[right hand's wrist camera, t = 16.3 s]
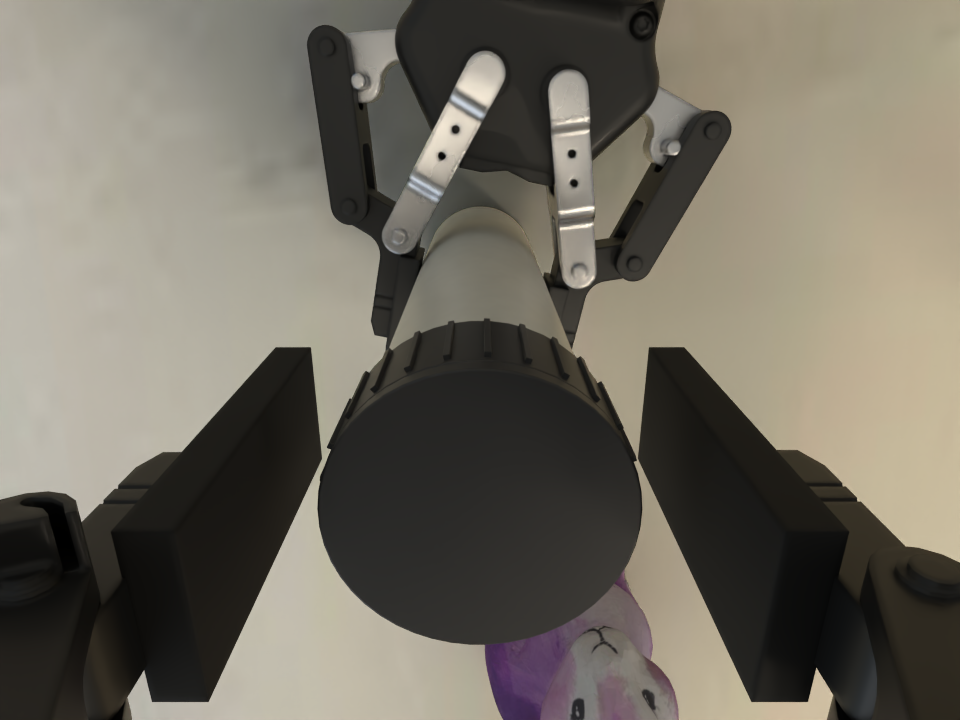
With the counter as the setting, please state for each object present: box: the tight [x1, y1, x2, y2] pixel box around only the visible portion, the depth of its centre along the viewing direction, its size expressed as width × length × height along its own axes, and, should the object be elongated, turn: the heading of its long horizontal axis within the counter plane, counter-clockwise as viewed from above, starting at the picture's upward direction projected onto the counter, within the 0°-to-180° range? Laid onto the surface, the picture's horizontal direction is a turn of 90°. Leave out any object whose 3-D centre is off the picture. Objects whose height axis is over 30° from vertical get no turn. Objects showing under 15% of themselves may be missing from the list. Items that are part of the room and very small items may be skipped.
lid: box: [318, 318, 642, 645], centre depth 11 cm, size 5×5×2 cm
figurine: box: [485, 570, 679, 720], centre depth 28 cm, size 9×10×15 cm
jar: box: [389, 206, 574, 355], centre depth 20 cm, size 5×5×20 cm
